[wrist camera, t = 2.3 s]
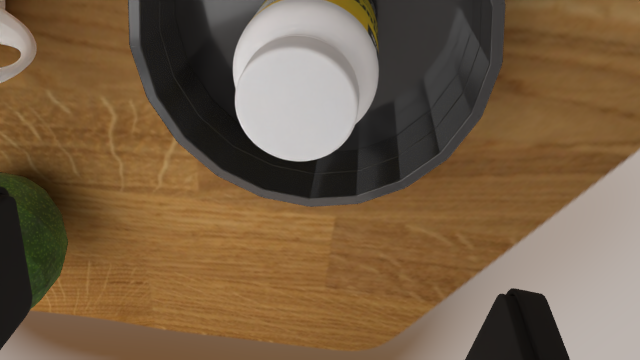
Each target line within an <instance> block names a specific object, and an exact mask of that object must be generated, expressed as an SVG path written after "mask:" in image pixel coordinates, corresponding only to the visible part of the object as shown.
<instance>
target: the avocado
mask: <svg viewBox="0 0 640 360" xmlns="http://www.w3.org/2000/svg"><path fill="white" fill-rule="evenodd" d="M0 186H1V187H4V188H5V189H6V190H7V191H8V193H9V196H11V197H13V198H14V199H15V200H16V204H17V209H18V215H19V221H20V227H21V232H22V238H23V244H24V250H25V255H26V261H27V267H28V273H29V278H30V284H31V290H32V297H33V300H32V305H31V308H32V307H34V306H35V305H36V304H37V303H38V302H39V301H40V300H41V299H42V298H43V296H44V295H45V294H46V293H47V291H48V290H49V289H50V287H51V286H52V285H53V284H54V282H55V281H56V280H57V279H58V277H59V276H60V273H61V270H62V266H63V263H64V259H65V255H66V250H67V245H68V239H67V235H66V231H65V226H64V222H63V218H62V214H61V212H60V210H59V209H58V207H57V206H56V204H55V203H54V202H53V200H52V199H51V197H50V196H49V195H48V193H47V192H46V190H45V189H43V188H42V187H40V186H39V185H37V184H36V183H34V182H33V181H31V180H29V179H28V178H26V177H23V176H19V175H13V174H7V173H2V172H0ZM31 308H30V309H31Z"/></svg>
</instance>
